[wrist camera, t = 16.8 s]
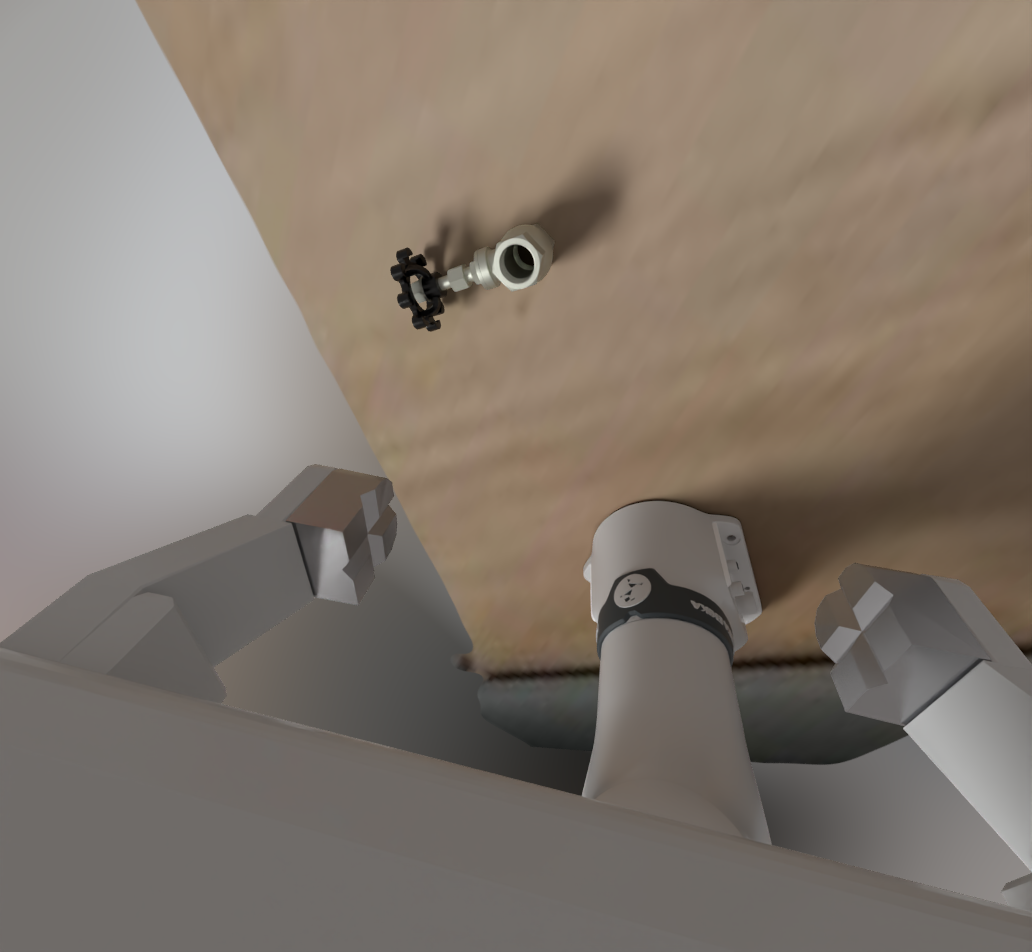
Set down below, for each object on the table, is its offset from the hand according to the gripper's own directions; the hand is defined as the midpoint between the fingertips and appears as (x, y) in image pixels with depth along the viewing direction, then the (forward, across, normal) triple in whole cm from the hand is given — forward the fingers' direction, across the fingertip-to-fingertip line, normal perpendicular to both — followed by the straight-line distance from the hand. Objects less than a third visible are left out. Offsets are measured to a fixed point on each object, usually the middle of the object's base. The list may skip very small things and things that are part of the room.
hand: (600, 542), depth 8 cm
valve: (+34, +11, +2) cm, 36 cm away
